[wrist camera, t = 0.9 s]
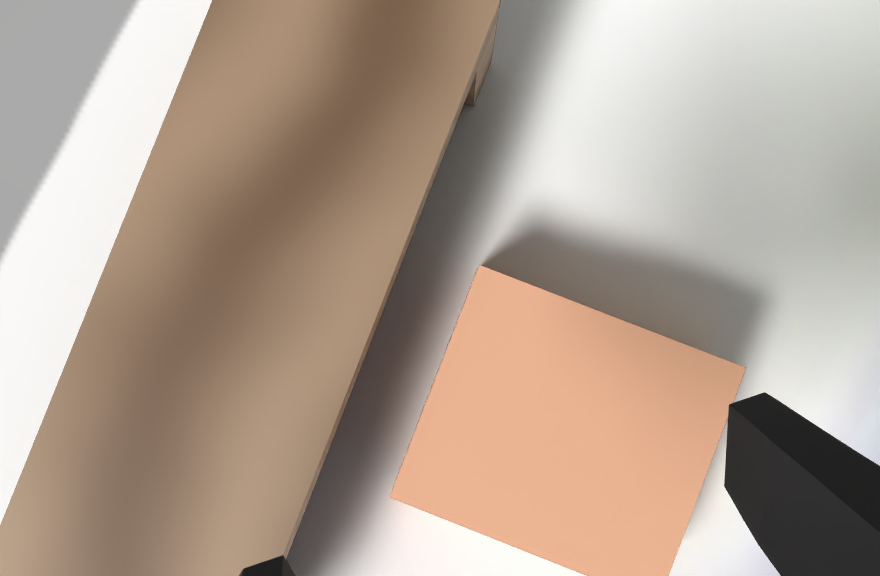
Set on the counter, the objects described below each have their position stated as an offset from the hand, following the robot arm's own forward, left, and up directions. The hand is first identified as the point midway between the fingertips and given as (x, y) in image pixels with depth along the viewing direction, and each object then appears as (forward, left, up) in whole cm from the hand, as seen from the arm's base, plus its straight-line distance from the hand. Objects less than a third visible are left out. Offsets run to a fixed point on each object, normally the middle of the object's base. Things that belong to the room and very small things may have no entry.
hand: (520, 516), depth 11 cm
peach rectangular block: (-2, -1, -12) cm, 12 cm away
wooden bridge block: (+6, -1, -12) cm, 13 cm away
